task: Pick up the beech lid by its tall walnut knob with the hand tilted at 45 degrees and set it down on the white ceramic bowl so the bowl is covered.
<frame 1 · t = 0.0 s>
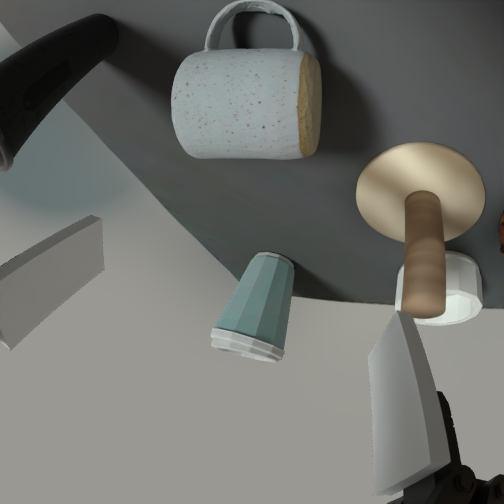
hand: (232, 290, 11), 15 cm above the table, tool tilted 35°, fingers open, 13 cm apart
disposable coffee cup: (274, 261, 43), on the table
drinking cup: (99, 34, 15), on the table
ceramic mug: (264, 63, 17), on the table
lid: (421, 197, 22), on the table
bowl: (439, 274, 31), on the table
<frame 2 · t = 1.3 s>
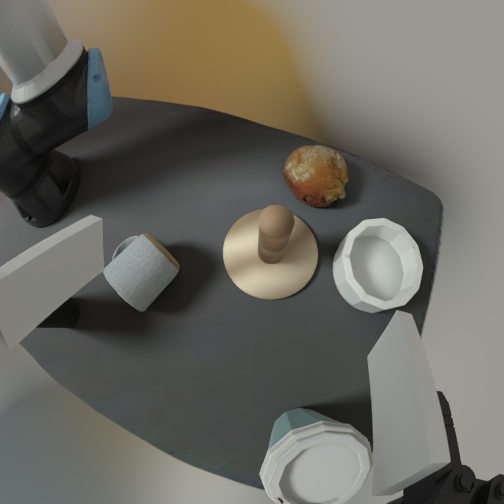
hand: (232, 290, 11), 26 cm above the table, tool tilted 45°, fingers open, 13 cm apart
disposable coffee cup: (298, 430, 31), on the table
drinking cup: (68, 312, 36), on the table
ceramic mug: (145, 272, 38), on the table
lid: (270, 253, 39), on the table
bread roll: (315, 182, 43), on the table
bowl: (371, 271, 38), on the table
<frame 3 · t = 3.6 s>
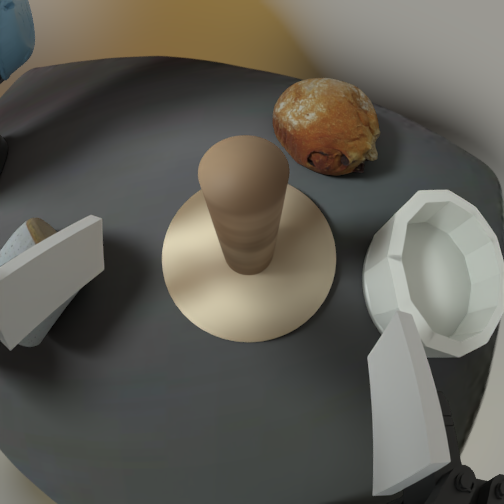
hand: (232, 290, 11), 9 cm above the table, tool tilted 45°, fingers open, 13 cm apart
ceramic mug: (50, 282, 21), on the table
lid: (248, 254, 21), on the table
bread roll: (325, 139, 25), on the table
bowl: (424, 283, 20), on the table
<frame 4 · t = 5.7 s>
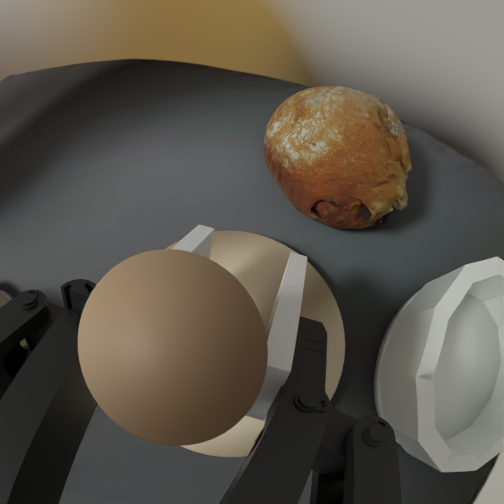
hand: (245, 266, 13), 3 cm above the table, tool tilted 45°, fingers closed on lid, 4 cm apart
lid: (225, 346, 15), on the table, touching gripper
bread roll: (336, 172, 19), on the table
bowl: (448, 367, 14), on the table
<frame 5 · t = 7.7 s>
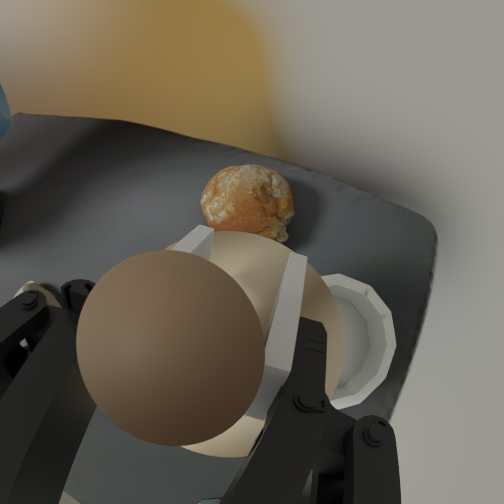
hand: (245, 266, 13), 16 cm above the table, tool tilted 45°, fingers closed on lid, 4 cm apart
ceramic mug: (44, 321, 27), on the table
lid: (224, 346, 15), point 13 cm above the table, touching gripper
bread roll: (249, 216, 32), on the table
bowl: (320, 343, 27), on the table
when the fingers open (10 cm above the table, at t = 9.5 s): lid drops 1 cm, resting on bowl.
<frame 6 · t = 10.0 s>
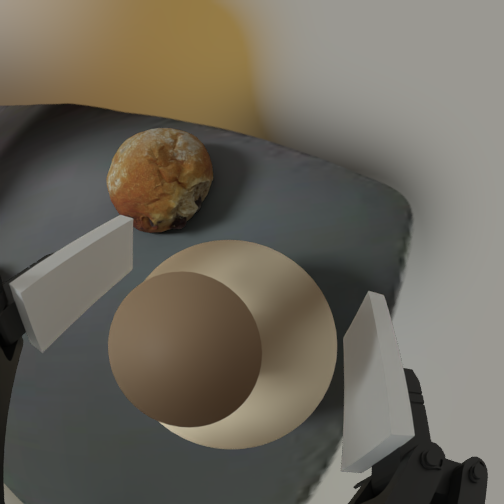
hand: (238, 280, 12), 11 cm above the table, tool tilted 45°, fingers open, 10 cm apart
lid: (227, 346, 16), point 5 cm above the table, touching bowl
bread roll: (165, 190, 26), on the table
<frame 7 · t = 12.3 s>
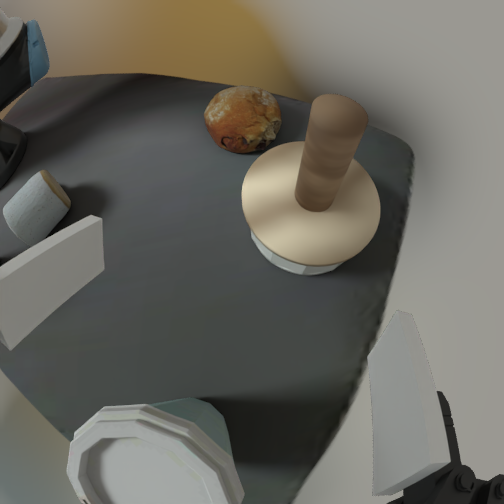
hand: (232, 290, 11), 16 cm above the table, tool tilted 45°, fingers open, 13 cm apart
disposable coffee cup: (196, 429, 23), on the table
ceramic mug: (49, 216, 32), on the table
lid: (312, 199, 25), point 5 cm above the table, touching bowl
bread roll: (244, 130, 35), on the table
bowl: (305, 221, 30), on the table
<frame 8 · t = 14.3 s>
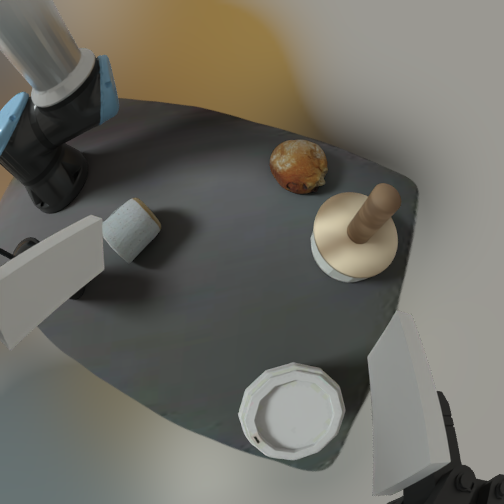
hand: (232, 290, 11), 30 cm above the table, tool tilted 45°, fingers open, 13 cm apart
disposable coffee cup: (281, 391, 36), on the table
drinking cup: (75, 286, 41), on the table
ceramic mug: (133, 234, 44), on the table
lid: (356, 234, 38), point 5 cm above the table, touching bowl
bread roll: (298, 173, 48), on the table
bowl: (346, 245, 43), on the table
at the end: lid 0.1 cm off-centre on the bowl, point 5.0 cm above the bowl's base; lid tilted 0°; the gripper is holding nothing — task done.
